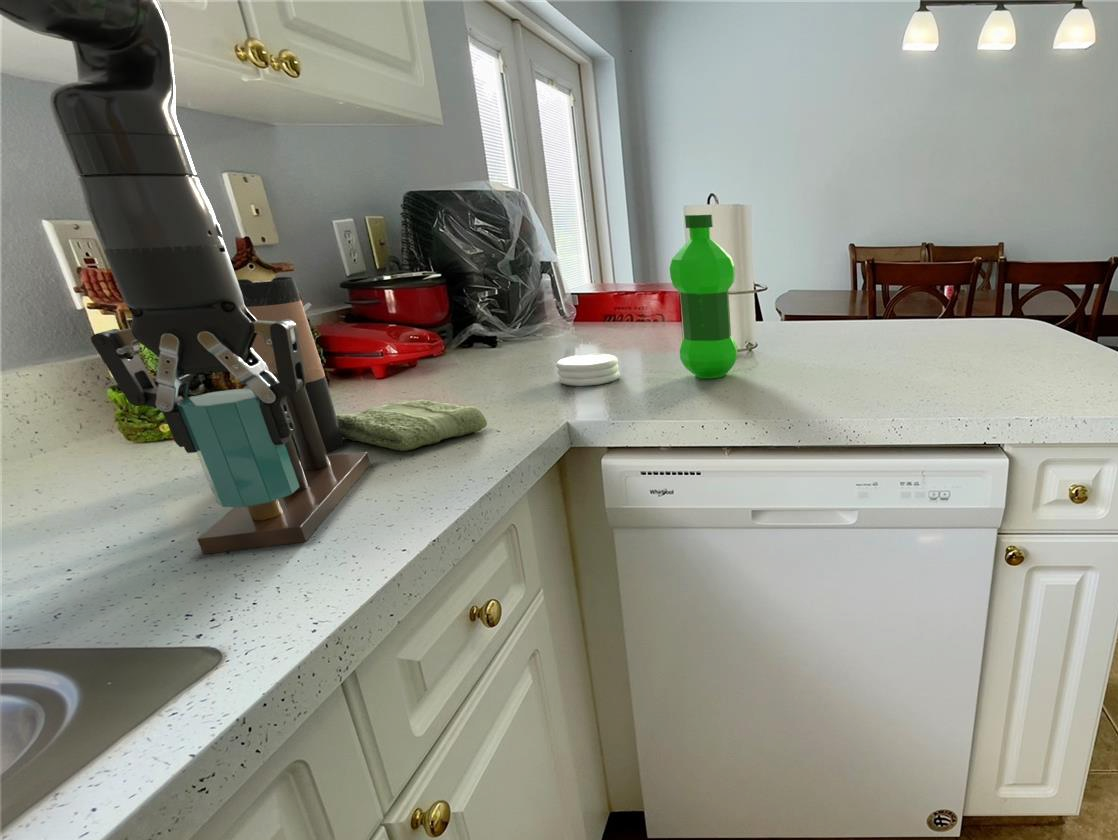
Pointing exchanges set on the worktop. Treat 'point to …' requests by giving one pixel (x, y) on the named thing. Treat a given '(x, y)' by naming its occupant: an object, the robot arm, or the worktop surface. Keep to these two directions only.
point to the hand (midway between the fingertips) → (241, 445)
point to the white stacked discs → (588, 369)
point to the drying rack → (306, 506)
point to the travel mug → (285, 303)
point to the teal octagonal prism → (237, 448)
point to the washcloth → (410, 424)
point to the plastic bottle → (704, 301)
